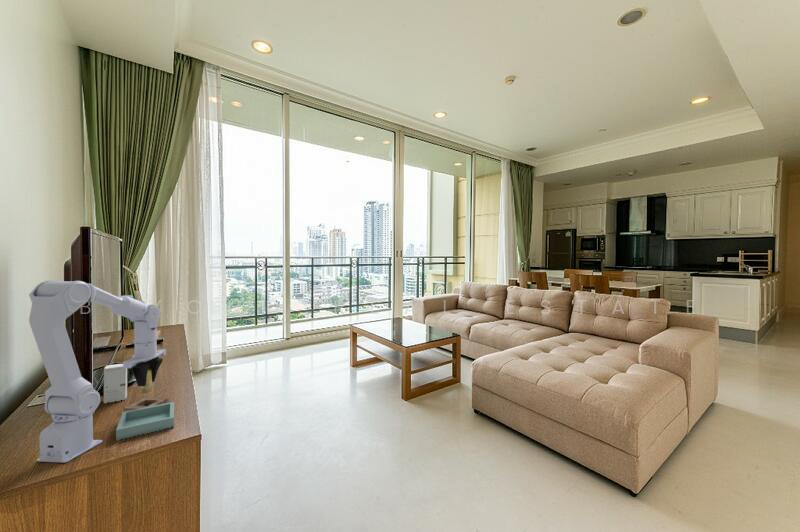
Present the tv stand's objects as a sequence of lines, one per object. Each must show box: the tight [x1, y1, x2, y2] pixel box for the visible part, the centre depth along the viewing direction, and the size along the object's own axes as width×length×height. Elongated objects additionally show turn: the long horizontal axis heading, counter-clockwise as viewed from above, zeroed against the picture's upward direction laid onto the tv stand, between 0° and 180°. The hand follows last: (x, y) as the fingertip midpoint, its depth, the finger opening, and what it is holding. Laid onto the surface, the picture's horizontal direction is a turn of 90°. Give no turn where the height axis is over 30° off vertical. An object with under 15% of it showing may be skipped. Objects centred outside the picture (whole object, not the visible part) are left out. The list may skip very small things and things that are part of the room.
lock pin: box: [139, 368, 153, 394], centre depth 108 cm, size 3×3×7 cm
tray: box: [115, 401, 175, 442], centre depth 100 cm, size 13×13×3 cm
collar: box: [123, 396, 170, 412], centre depth 112 cm, size 8×8×2 cm
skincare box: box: [103, 363, 128, 404], centre depth 118 cm, size 6×4×12 cm
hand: (146, 383), depth 108 cm, fingers closed on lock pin, 3 cm apart
